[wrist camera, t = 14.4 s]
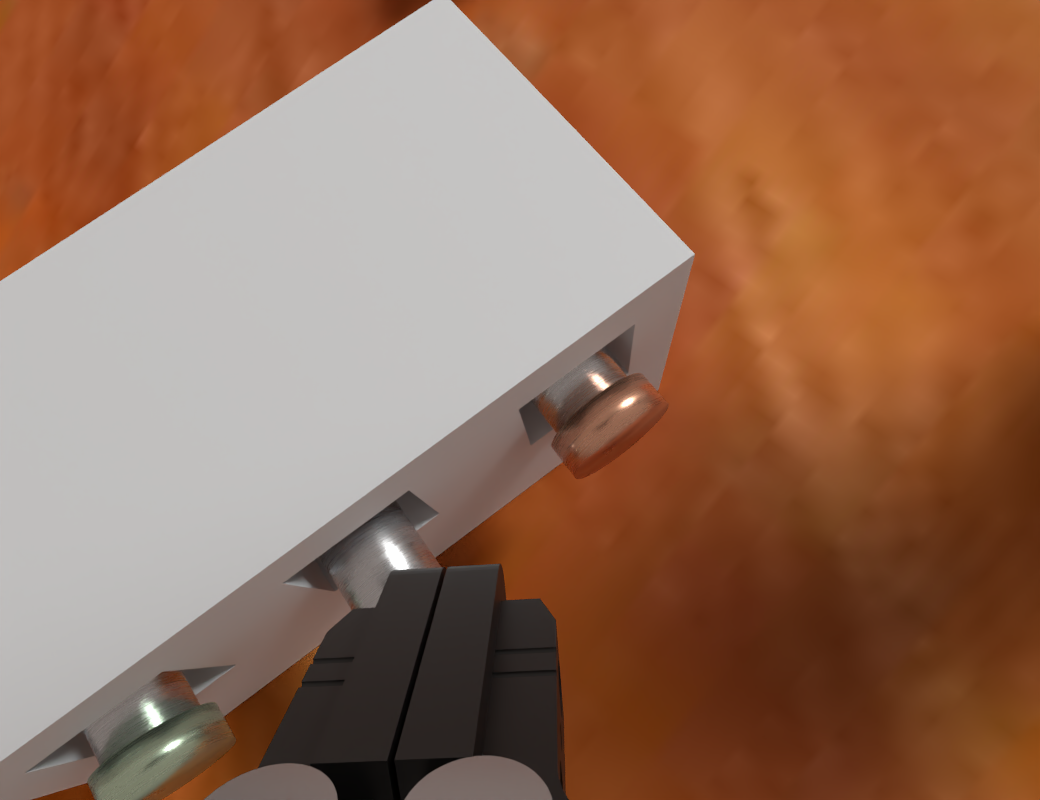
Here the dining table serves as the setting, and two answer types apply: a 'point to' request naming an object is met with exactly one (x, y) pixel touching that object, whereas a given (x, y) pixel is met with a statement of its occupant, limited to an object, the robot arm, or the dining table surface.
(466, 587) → the robot arm
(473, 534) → the dining table surface
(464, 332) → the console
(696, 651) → the dining table surface
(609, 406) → the copper knob
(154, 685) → the sage button
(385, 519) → the ivory button
